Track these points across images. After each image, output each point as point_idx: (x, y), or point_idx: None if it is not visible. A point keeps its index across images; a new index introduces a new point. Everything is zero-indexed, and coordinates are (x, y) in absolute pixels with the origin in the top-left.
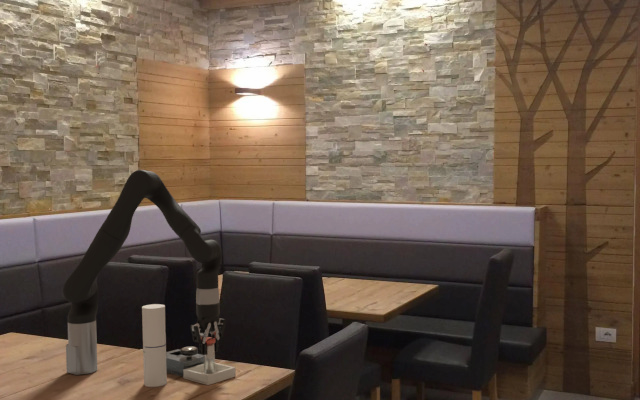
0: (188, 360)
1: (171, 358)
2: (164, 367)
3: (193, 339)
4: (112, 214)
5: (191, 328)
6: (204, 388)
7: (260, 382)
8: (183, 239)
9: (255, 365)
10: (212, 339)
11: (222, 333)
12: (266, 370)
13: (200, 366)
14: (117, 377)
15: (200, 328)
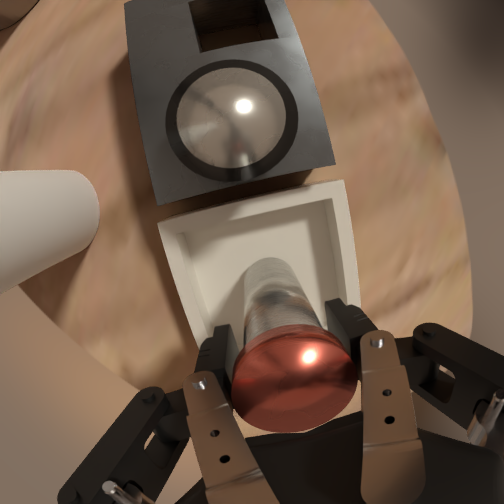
0: (198, 186)
1: (144, 88)
2: (47, 266)
3: (130, 406)
4: None
5: (75, 493)
6: (187, 371)
7: (355, 405)
8: None
9: (463, 244)
10: (306, 421)
11: (433, 388)
12: (446, 316)
13: (261, 212)
14: (26, 76)
15: (193, 496)
